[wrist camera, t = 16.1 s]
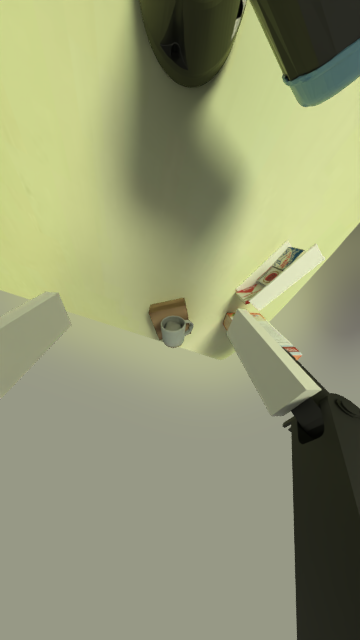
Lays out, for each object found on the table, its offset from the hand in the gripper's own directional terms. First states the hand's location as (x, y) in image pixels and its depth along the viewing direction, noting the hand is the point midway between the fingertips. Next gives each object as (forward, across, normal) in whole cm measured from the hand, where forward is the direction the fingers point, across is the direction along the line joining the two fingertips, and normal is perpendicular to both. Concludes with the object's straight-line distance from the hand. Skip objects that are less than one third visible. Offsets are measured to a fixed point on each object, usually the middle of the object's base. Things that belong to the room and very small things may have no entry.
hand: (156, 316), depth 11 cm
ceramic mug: (+27, +6, -21) cm, 35 cm away
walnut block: (+33, +4, -21) cm, 40 cm away
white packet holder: (+33, +32, -2) cm, 46 cm away
